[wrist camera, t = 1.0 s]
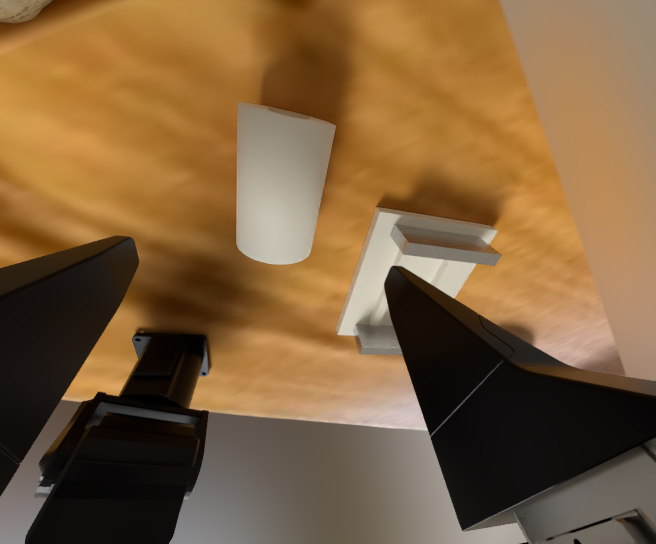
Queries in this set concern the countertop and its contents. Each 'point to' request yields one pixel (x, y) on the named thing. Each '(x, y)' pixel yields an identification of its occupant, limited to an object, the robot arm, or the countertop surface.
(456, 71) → the countertop surface
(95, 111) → the countertop surface
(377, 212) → the holder base
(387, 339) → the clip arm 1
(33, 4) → the chocolate bunny
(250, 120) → the paper roll
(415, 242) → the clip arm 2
